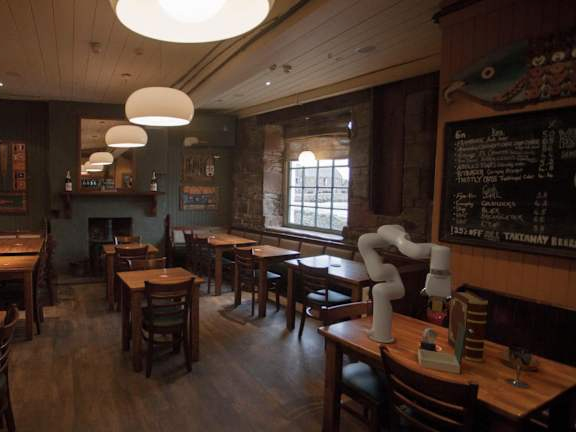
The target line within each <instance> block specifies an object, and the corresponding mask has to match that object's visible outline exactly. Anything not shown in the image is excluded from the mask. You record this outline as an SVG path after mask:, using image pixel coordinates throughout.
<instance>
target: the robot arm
mask: <svg viewBox="0 0 576 432" xmlns="http://www.w3.org/2000/svg"><path fill="white" fill-rule="evenodd" d="M390 246H395V247H396V248H397V249H398V251H399V252H400V253H401V254H402V255H405V256H407V257H409V258H411V259H413V260H425V259H427V260H428V259H430V265H429V273H427V275H426V278H425V279H426V280H425V286H424V288H423V289H422V290H421V291H420V295H421V296H422V297H424V298H425V299H426V300H427V301H428V303H427V308H428V309H429V310H430V311H432V300H433V298H434V297H440V298H442V300H441V302H442V304H443V306H442V312H441V313H443V312H445V310H446V305H447V303H448V302H450V300H452V299H454V298H455V296H454V295H453V293H452V292H451V290H452V279H451V275H452V274H453V272H454V271H453V270H451V269H450V264H451V263H450V261H451V248H450V247H448V246H445V245H439V244H436V243H433V242H423V243H422V242H421V243H415V242H413V241H411V236H410V234H409V233H408V232H406V229H405V228H404V227H403V226H402V225H400V224H385V225H382V226H379V228H378V229H377V232H369V233H368V232H367V233H364V234H362V235H360V236H359V238H358V241H357V248H358V251H359V254H360V255H361V257H362V259H363V261H364V265H365V269H366V270H367V274H368V275H369V278H370V279H371V280H372V281H373V282H379V283H376V284H375V285H373V286H372V290H371V293H372V300H373V302H372V303H373V309H372V310H373V311H372V327H371V328H370V329H367V328H363V333H365V334H367V335H368V337H369V339H370V340H372V341H374V342H377V343H381V344H391V343H394V342H395V337H394V336H392V331H393V330H392V328H393V327H392V326H393V306H392V303H391V301H394V300H401V299H403V298H404V296H405V293H406V289H405V286H404V284H403V281H402V278H401V275H400V273H399V270H398V269H397V268H396V266H395V265H394V264H391V263H383V261H382V260H381V257H380V254H379V253H378V252H377V251H376V250H375V249H381V248H387V247H390ZM380 282H381V283H380Z"/></svg>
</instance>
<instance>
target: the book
mask: <svg viewBox="0 0 576 432" xmlns="http://www.w3.org/2000/svg"><path fill="white" fill-rule="evenodd" d="M417 359H418V363H419V367H421V368H425V369H431V370H436V371H441V372H448V373H454V374H460V372H461V365H459V363H458V361H457V359H456V357H455V354H452V353H445V352H440V351H428V350H425V349H422V348H417Z"/></svg>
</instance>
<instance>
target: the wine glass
mask: <svg viewBox="0 0 576 432" xmlns="http://www.w3.org/2000/svg"><path fill="white" fill-rule="evenodd" d="M507 351H508V355H509V360H510V362H511V363H512V365H513V366H514V367H515V368H516V369H515V370H516V379H508V380H507V381H506V382H507V383H508V384H509V385H511V386H513V387H516V388H520V389H529V388H530V387H529V384H527V383H526V382H523V381H521V380H520V376H521V374H522V373H521V372H523V369H525V368H526V367H528V366H529V365H530V363H531V361H532V357H533V351H532V350H530V349H527V348H523V347H520V346H509V347H508V350H507Z"/></svg>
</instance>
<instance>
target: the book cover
mask: <svg viewBox="0 0 576 432" xmlns="http://www.w3.org/2000/svg"><path fill="white" fill-rule="evenodd" d="M466 331H469V332H466ZM466 333H467V334H471V335H472V336H474V335H475V333H474V331H473V330H472V329H465V328H464V326H463V325H462V323H461V322H459V326H458V333H457V339H456V345H455V349H454V353H453V355H455V357H456V359H457V361H458V363H459V365H460V366H462V363H463V350H464V344H465V338H466Z"/></svg>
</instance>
